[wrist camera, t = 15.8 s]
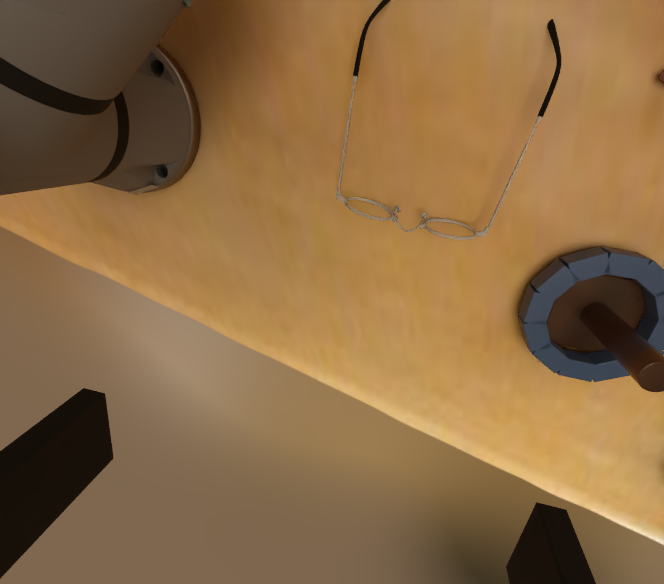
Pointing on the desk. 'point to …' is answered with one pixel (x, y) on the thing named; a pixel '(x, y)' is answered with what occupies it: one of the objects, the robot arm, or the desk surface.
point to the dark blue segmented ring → (658, 286)
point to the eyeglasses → (356, 69)
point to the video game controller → (662, 76)
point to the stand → (608, 325)
